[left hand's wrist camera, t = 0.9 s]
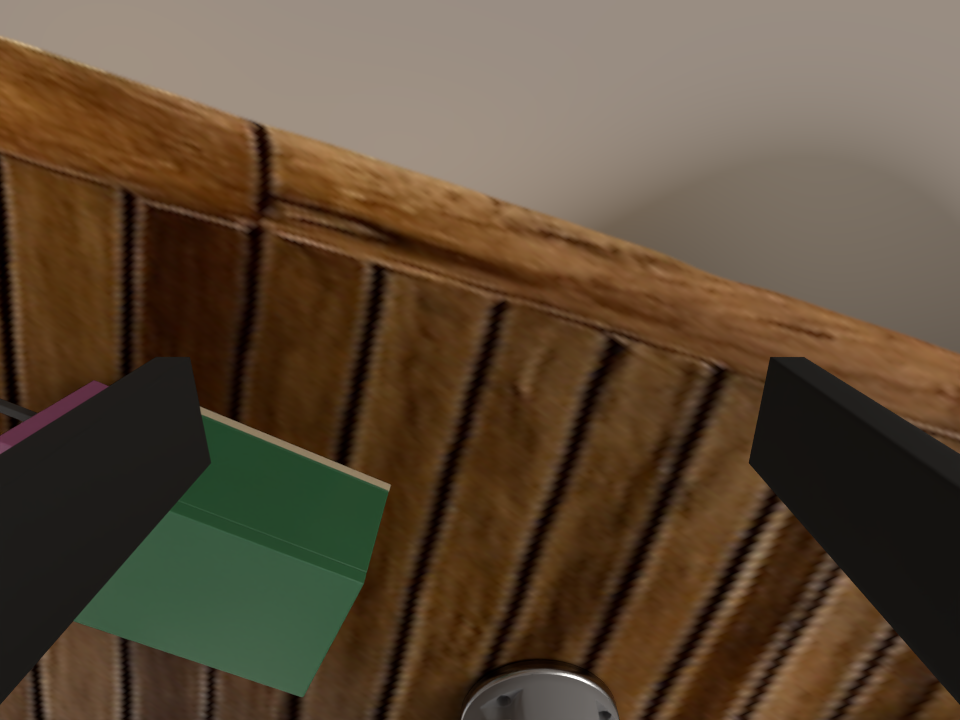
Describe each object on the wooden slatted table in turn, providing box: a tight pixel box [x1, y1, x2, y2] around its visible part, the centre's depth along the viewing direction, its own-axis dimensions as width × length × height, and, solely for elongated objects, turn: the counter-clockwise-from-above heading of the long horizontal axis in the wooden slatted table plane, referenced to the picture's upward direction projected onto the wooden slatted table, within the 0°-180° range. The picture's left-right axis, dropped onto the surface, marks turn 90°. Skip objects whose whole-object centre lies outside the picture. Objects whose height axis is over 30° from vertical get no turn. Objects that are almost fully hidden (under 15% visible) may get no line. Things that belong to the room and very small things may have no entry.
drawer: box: [0, 381, 109, 454], centre depth 38 cm, size 26×10×9 cm, turn 64°
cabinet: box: [74, 407, 391, 697], centre depth 39 cm, size 21×11×11 cm, turn 64°
